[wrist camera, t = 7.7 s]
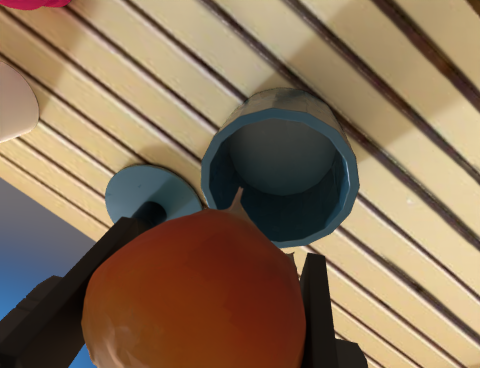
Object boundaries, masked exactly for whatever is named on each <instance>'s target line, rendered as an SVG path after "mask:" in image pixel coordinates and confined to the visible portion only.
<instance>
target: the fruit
mask: <svg viewBox="0 0 480 368" xmlns="http://www.w3.org/2000/svg"><path fill="white" fill-rule="evenodd" d="M242 192H243V188H242V189H241V187H239V189H238V192H237V194H236V195H235V199H234V200H233V202H232V205H231V206H230V207H229V208H228V209H225V210H217V209H211V208H210V209H204V210H201V211H198V212H196V213H193V214H190V215H186V216H182V217H178V218H175V219H171V220H168V221H165V222H163V223H161V224H159V225H158V226H156V227H154V228H152V229H150V230H148V231H146V232H144V233H142V234H140V235H139V236H137V237H136V238H135V239H133V240H132V241H130V242H129V243H128V244H126V245H125V246H124V247H122V248H121V249H119V250H118V251H117V252H115V253H114V254H113V255H112V256H111V257H110V258H108V259H107V260H106V261H104V262H103V263H102V264H101V265H100V266H99V267H98V268H97V269H96V271H95V272H94V273H93V275H92V277H91V279H90V281H89V283H88V287H87V289H86V296H85V299H84V307H83V317H82V321H81V326H82V330H83V336H84V340H85V343H86V346H87V349H88V350H89V355H90V359H91V361H92V362H93V364H95V365H96V366H97V367H98V368H301V364H302V360H303V356H304V350H305V342H306V317H305V311H304V305H303V300H302V295H301V289H300V283H299V277H298V274H297V267H296V265H295V262H294V257H293V254H294V252H293V253H291V254H285V253H284V252H283V251H281V250H280V249H279V248H278V247H277V246H275V245H274V244H273V243H272V242H271V241H270V240H269V239H268V238H267V237H266V236H265V235H264V234H263V233H262V232H261V231H260V230H259V229H258V228H257V226H256V225H255V224H254V223H253V222H252V221H251V219H250V218H249V216H248V215H247V213H246V212H245V210H244V208H243V207H242V205H241V203H240V200H241V196H242Z"/></svg>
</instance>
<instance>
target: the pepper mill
mask: <svg viewBox="0 0 480 368" xmlns="http://www.w3.org/2000/svg"><path fill="white" fill-rule="evenodd" d="M70 1H71V0H0V4H2V5H4V6H7V7H10V8H15V9H20V10H34V9H38V8H40V7H42V6H46V7H62V6H65V5H67V4H68V3H69V2H70Z"/></svg>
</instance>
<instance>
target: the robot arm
mask: <svg viewBox="0 0 480 368" xmlns="http://www.w3.org/2000/svg"><path fill="white" fill-rule="evenodd" d="M137 236H138V226H137V219H134V218H128V217H123V216H122V217H121V218H120V219H119V220H118V221H117V222H116V223H115V224H114V225H113V226H112V227H111V228H110V229H109V230H108V231H107V232H106V233H105V234H104V236H103V237H102V238H101V239H100V240H99V241H98V242H97V243H96V244H95V245H94V246H93V247H92V248H91V249H90V250H89V251H88V252H87V253H86V254H85V256H83V258H82V259H81V260H80V261H79V262H78V263H77V264H76V265H75V266H74V267H73V268H72V269H71V270H70V271H69V272H68V273H67V274H66V275H65V276H64V277H58V276H54V275H53V276H51V277H50V278H48V279H46V280H45V281H43V282H41V283H40V284H38V285H37V286H36V287H35V288H34V289H33V290H32V291H31V292H30V293H29V294H28V295H27V296H26V298H24V299H23V300H22V301H21V302H19V303H18V304H17V305H16V308H14V309H12V310H11V311H10V312H9V313H8V314H7V315H6V316H5V317H4V318H3V319H2V320H1V321H0V368H68V367H69V365H70V364H71V363H72V361H73V360H74V358H75V357H76V356H77V354H78V352H79V351H80V350H81V348H82V347H83V345H84V344H85V340H84V336H83V330H82V326H81V321H82V317H83V307H84V299H85V296H86V289H87V287H88V283H89V281H90V279H91V277H92V275H93V273H94V272H95V271H96V269H97V268H98V267H99V266H100V265H101V264H102V263H103V262H104V261H106V260H107V259H108V258H110V257H111V256H112V255H113V254H114V253H115V252H117V251H118V250H119V249H121V248H122V247H124V246H125V245H126V244H128V243H129V242H130V241H132V240H133V239H135V238H136V237H137ZM299 283H300V289H301V295H302V300H303V305H304V311H305V317H306V342H305V350H304V356H303V360H302V364H301V368H368V364H367V359H366V358H365V356H364V354H363V352H362V351H361V349H360V347H359V345H358V344H357V343H354V342H349V341H345V340H341V339H336V338H335V333H334V325H333V317H332V309H331V301H330V293H329V284H328V276H327V268H326V260H325V256H323V255H318V254H313V253H307V257H306V260H305V264H304V267H303V271H302V274H301V278H300V281H299Z"/></svg>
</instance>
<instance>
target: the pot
mask: <svg viewBox="0 0 480 368" xmlns="http://www.w3.org/2000/svg"><path fill="white" fill-rule="evenodd" d="M359 186H360V184H359V177H358V169H357V162H356V156H355V154H354V152H353V150H352V148H351V146H350V144H349V142H348V140H347V137H346V135H345V133H344V131H343V129H342V127H341V125H340V123H339V122H338V120H337V119H336V117H335V116H334V114H333V113H332V111H331V110H330V108H329V107H328V105H327V104H325V103H324V102H322V101H321V100H319V99H318V98H317V97H315V96H313V95H311V94H309V93H307V92H306V91H301V90H297V89H292V88H276V89H270V90H266V91H263V92H260V93H258V94H255V95H253V96H252V97H250V98H249V99H248V100H246V101H245V102H244V103H243V104H242V105H240V106H239V107H238V108H237V109H235V110H234V112H233V113H232V114H231V116H230V117H229V118H228V119H227V121H226V122H225V123H224V124H223V126H222V127H221V128H220V129H219V131H218V132H217V133H216V134H215V136H214V137H213V139H212V141H211V143H210V145H209V147H208V149H207V151H206V153H205V155H204V157H203V159H202V166H201V189H202V191H203V194H204V196H205V199H206V201H207V204H208V206H209V209H210V208H211V209H217V210H225V209H228V208H229V207H230V206H231V205H232V202H233V200H234V199H235V195H236V194H237V192H238V189H239V187H241V189H242V188H243V192H242V196H241V200H240V203H241V205H242V207H243V208H244V210H245V212H246V213H247V215H248V216H249V218H250V219H251V221H252V222H253V223H254V224H255V225H256V226H257V228H258V229H259V230H260V231H261V232H262V233H263V234H264V235H265V236H266V237H267V238H268V239H269V240H270V241H271V242H272V243H273V244H274V245H275V246H277V247H278V248H287V247H296V246H305V245H308V244H310V243H312V242H314V241H316V240H318V239H320V238H323V237H325V236H327V235H329V234H331V233H332V232H333V231H334V230H335V229H336V228H337V227H338V226H339V225H340V224H341V223H342V222H343V221H344V220H345V218H346V217H347V216H348V215H349V214H350V213H351V210H352V207H353V204H354V202H355V199H356V196H357V193H358V190H359Z"/></svg>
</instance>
